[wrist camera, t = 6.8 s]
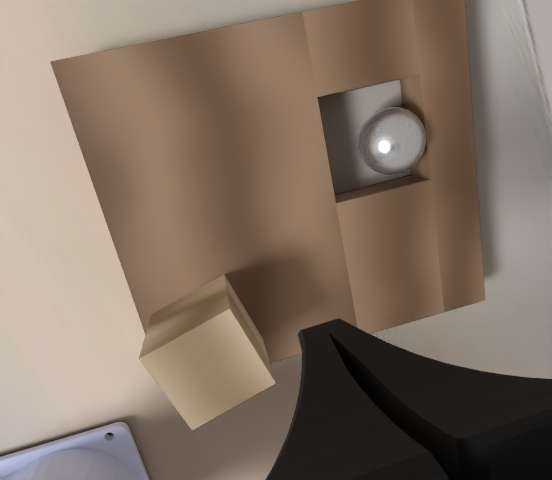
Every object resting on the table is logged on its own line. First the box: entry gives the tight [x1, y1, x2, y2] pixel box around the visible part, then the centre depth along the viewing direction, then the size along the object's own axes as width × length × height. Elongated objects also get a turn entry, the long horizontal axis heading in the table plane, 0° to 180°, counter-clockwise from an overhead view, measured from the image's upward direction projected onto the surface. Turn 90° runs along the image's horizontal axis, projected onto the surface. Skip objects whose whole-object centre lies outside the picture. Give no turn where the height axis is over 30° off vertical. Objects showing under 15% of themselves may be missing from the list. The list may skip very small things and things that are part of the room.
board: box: [51, 0, 485, 363], centre depth 20 cm, size 18×16×2 cm
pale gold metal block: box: [139, 275, 276, 430], centre depth 18 cm, size 4×4×4 cm
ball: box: [358, 107, 426, 175], centre depth 20 cm, size 3×3×3 cm
